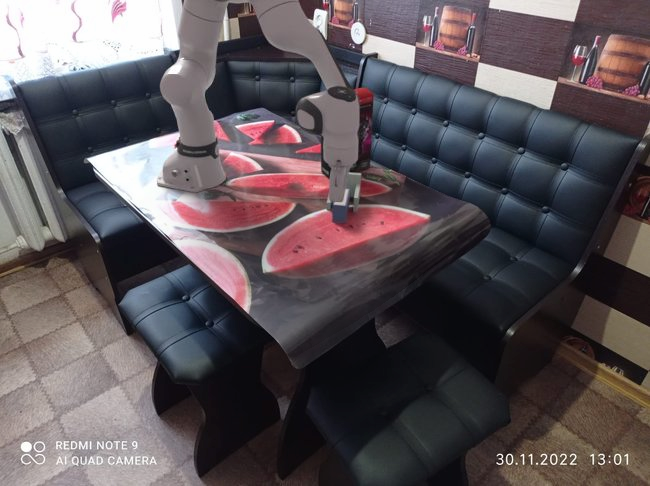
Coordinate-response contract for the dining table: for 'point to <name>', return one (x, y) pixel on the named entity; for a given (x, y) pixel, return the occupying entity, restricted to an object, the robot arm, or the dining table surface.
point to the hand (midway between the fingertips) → (339, 199)
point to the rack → (351, 189)
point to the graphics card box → (358, 134)
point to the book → (341, 209)
